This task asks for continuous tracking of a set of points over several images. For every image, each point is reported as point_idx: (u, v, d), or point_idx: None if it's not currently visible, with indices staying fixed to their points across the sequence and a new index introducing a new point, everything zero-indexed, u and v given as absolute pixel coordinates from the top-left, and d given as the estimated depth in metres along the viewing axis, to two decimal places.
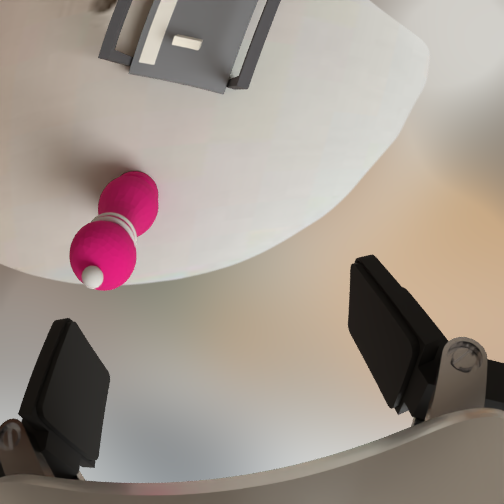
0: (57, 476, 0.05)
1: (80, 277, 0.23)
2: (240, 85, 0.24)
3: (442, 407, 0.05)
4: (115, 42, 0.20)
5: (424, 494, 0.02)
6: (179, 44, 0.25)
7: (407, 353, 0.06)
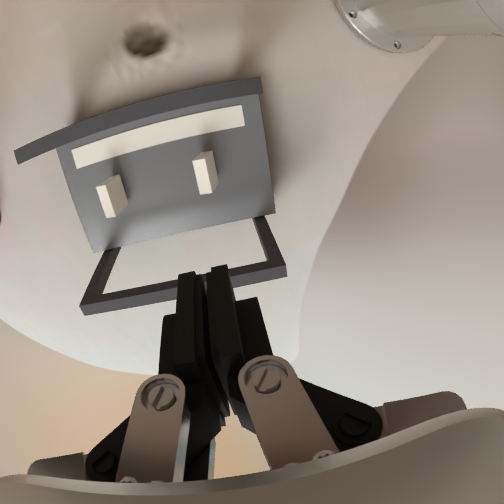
0: None
1: None
2: (82, 308, 0.21)
3: (272, 438, 0.05)
4: None
5: (424, 494, 0.02)
6: (100, 195, 0.23)
7: None
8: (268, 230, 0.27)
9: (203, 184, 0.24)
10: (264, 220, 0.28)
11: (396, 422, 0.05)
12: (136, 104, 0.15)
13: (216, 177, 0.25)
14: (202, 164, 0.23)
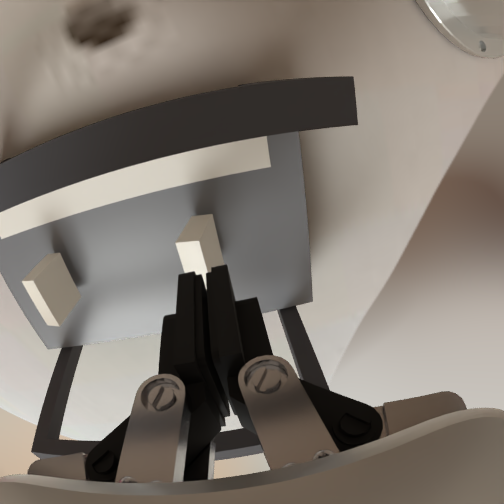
0: None
1: None
2: (36, 454, 0.11)
3: (272, 437, 0.05)
4: None
5: (424, 494, 0.02)
6: (30, 294, 0.12)
7: None
8: (305, 338, 0.16)
9: None
10: (295, 313, 0.18)
11: (396, 422, 0.05)
12: (11, 163, 0.05)
13: (220, 260, 0.15)
14: (194, 250, 0.12)
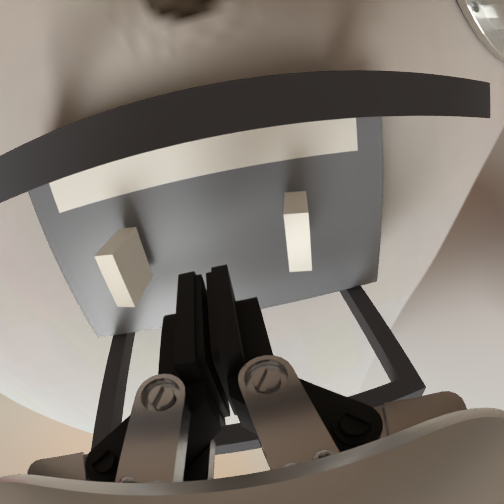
0: (187, 447, 0.07)
1: None
2: None
3: (272, 438, 0.05)
4: None
5: (424, 494, 0.02)
6: (104, 270, 0.12)
7: None
8: (376, 314, 0.17)
9: (298, 257, 0.13)
10: (362, 292, 0.18)
11: (396, 422, 0.05)
12: (214, 89, 0.05)
13: None
14: (302, 222, 0.12)
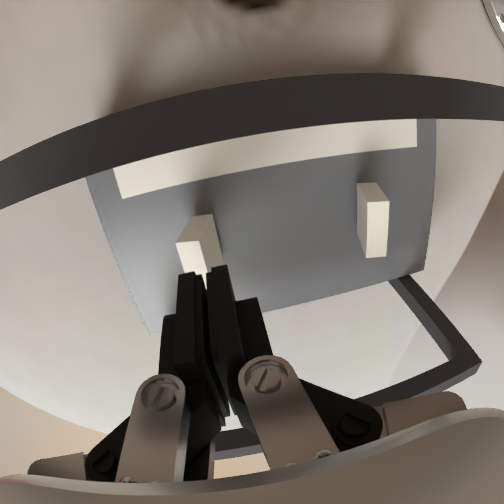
0: None
1: None
2: None
3: (272, 438, 0.05)
4: None
5: (424, 494, 0.02)
6: (184, 258, 0.12)
7: None
8: (428, 300, 0.17)
9: (375, 243, 0.13)
10: (412, 280, 0.18)
11: (396, 422, 0.05)
12: (395, 78, 0.05)
13: None
14: (382, 210, 0.13)
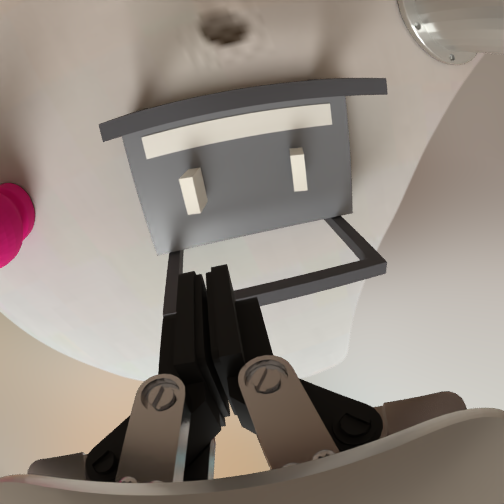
0: (187, 447, 0.07)
1: None
2: None
3: (272, 438, 0.05)
4: None
5: (424, 494, 0.02)
6: (183, 188, 0.22)
7: None
8: (352, 229, 0.26)
9: (299, 181, 0.23)
10: (342, 219, 0.28)
11: (396, 422, 0.05)
12: (269, 86, 0.14)
13: None
14: (300, 160, 0.22)
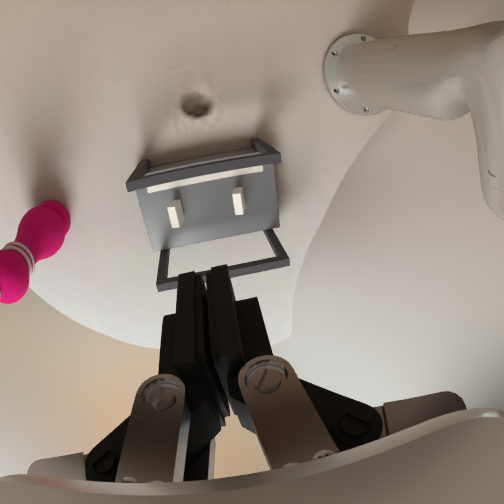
0: None
1: None
2: (157, 286, 0.36)
3: (272, 437, 0.05)
4: None
5: (424, 494, 0.02)
6: (169, 213, 0.37)
7: None
8: (276, 238, 0.42)
9: (238, 209, 0.39)
10: (272, 231, 0.44)
11: (396, 422, 0.05)
12: (211, 165, 0.30)
13: (244, 204, 0.40)
14: (238, 196, 0.38)
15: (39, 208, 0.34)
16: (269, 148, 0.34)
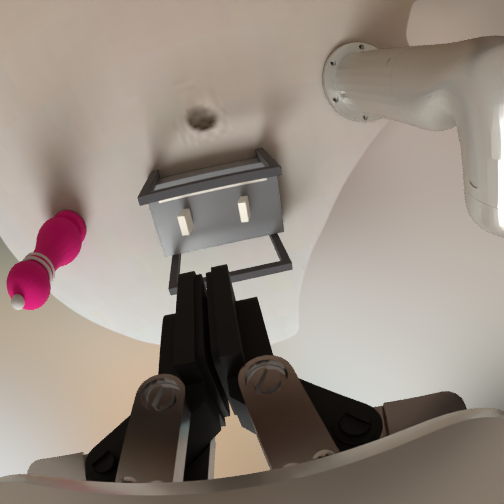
0: (187, 447, 0.07)
1: (10, 288, 0.27)
2: (170, 290, 0.39)
3: (272, 438, 0.05)
4: None
5: (424, 494, 0.02)
6: (180, 221, 0.40)
7: None
8: (280, 242, 0.45)
9: (243, 217, 0.41)
10: (277, 236, 0.46)
11: (396, 422, 0.05)
12: (216, 179, 0.33)
13: (249, 211, 0.43)
14: (243, 205, 0.40)
15: (56, 219, 0.38)
16: (271, 160, 0.36)
